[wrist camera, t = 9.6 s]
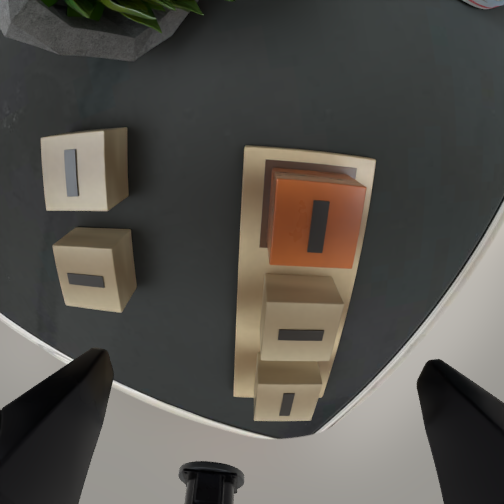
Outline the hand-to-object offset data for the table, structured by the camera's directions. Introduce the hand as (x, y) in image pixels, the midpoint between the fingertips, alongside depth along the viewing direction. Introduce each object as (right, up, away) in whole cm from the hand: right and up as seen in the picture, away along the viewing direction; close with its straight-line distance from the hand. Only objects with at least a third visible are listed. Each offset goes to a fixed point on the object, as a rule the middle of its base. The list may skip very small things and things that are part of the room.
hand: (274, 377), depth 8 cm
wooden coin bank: (+2, +5, +9) cm, 11 cm away
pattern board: (+2, 0, +12) cm, 12 cm away
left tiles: (-10, +6, +10) cm, 15 cm away
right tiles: (+2, -3, +12) cm, 13 cm away
